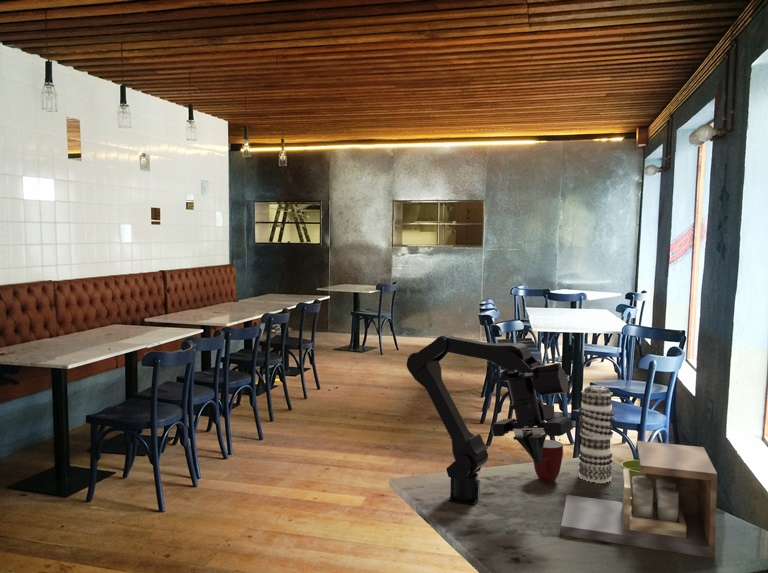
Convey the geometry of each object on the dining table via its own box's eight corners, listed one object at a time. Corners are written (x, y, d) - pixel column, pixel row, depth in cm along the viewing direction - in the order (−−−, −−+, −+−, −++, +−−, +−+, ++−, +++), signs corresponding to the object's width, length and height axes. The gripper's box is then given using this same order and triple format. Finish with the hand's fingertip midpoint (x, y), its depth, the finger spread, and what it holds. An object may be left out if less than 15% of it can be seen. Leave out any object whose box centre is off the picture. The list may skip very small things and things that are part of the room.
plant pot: (641, 510, 147) (642, 474, 147) (611, 496, 155) (612, 462, 155) (670, 504, 151) (670, 469, 150) (639, 491, 159) (640, 457, 159)
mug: (562, 490, 159) (563, 451, 159) (530, 486, 162) (530, 449, 161) (562, 476, 170) (563, 440, 169) (532, 473, 172) (532, 438, 171)
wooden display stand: (560, 534, 133) (562, 456, 132) (566, 503, 151) (568, 434, 150) (714, 558, 123) (717, 473, 122) (701, 521, 141) (703, 447, 140)
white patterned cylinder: (572, 479, 168) (574, 387, 167) (582, 470, 175) (584, 382, 175) (607, 486, 163) (609, 391, 162) (616, 476, 170) (618, 386, 169)
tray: (623, 528, 132) (624, 487, 131) (622, 506, 144) (623, 468, 143) (686, 537, 127) (687, 494, 127) (679, 514, 140) (680, 474, 139)
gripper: (576, 386, 143) (591, 452, 143) (509, 390, 156) (523, 451, 156) (552, 398, 135) (568, 469, 135) (484, 402, 149) (498, 466, 148)
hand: (538, 463), depth 144 cm, fingers closed
